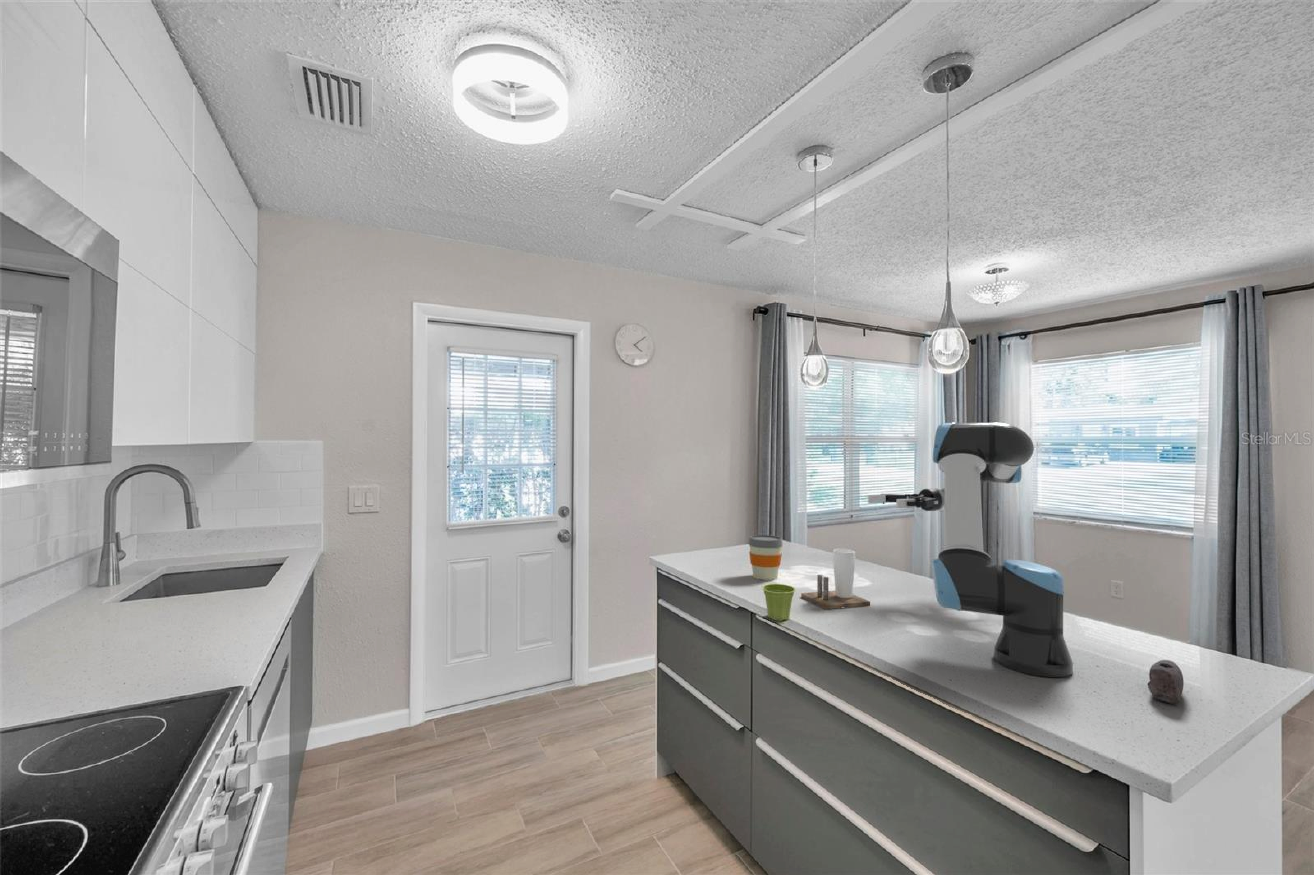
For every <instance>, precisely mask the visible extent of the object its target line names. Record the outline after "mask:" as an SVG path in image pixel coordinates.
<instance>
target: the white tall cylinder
mask: <svg viewBox="0 0 1314 875" xmlns="http://www.w3.org/2000/svg"><path fill="white" fill-rule="evenodd" d="M832 560H833V561H832V563H833V564H832V565H833V574H834V575H833V576H834V590H835V595H836V596H837V597H839V598H844V599H849V598H852V596H853V594H854V593H853V592H854V591H853V590H854V582H855V581H854V580H855V570H856V551H855V550H853V549H849V548H834V549H833V553H832Z"/></svg>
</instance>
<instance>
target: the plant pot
mask: <svg viewBox="0 0 1314 875" xmlns="http://www.w3.org/2000/svg"><path fill="white" fill-rule="evenodd" d="M761 589H762V590H763V594H764V596H765V597H764V598H765V603H766V611H767V612H766V613H767V617H768V618H770V619H771V620H773V621H780V622H781V621H784V620H786V621H788V620H789V619H790V616H791V608H792V602H793V597H794V594H795V592H796V587H794V586H793V585H788V584H780V583H768V584H764V585H763V586H762V588H761Z"/></svg>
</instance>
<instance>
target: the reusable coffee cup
mask: <svg viewBox="0 0 1314 875" xmlns="http://www.w3.org/2000/svg"><path fill="white" fill-rule="evenodd" d="M748 545H749V560H750V564H751V569H752V578H753V579H755V578H756V579H755V580H759V579H764V580H763V581H773V580H772V579H776V580H777V579H778V577H779V568H780V566H781V564H782V563H781V561H782V547H783V538H782V537H781V536H777V535H771V534H755V535H750V536H749V539H748Z"/></svg>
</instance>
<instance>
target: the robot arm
mask: <svg viewBox="0 0 1314 875" xmlns="http://www.w3.org/2000/svg"><path fill="white" fill-rule="evenodd" d="M933 441H934V443H933V451H932V462H933V463H935V464H937V465H938V469H939V470H940V471H941V472H942V473H944V475H943V477H944V479H943V480H944V481H943V482H944V487H941V488H924V489H922V490H920V491H919V493H913V494H911V493H907V494H905V493H904V494H902V493H901V494H898V493H897V494H892V493H888V494H887V493H881V494H868V495H867V498H868V499H867V503H868V504H882V505H885V503H896V506H895V507H896V508H897V509H906V508H907V509H909V508H910V509H911V508H918V509H920V508H921V509H922V510H923V511H924V512H935V511H939V512H940V513H943V512H944V548H943V549H941V550H940V551H939V552H938V558H936V559H933V560H932V562H931V566H932V568H931V569H932V574H933V584H934V592H935V597H936V601H937V603H938V605H940V607H942V608H945V609H951V610H954V611H955V610H956V611H958V612H961V611H964V612H971V613H972V612H973V613H981V614H986V615H994V616H995V615H996V616H1002V628H1001V629H1000V632H999V635H998V637H997V640H996V642H995V645H994V650H993V657H994V659H995V661H996V662H998V663H999V664H1000V665H1003V666H1005V667H1006V668H1008V669H1011V670H1014V671H1016V672H1017V671H1018V672H1020V673H1024V674H1028V675H1032V676H1038V677H1045V678H1065V677H1069V676H1071V675H1072V674H1073V673H1074V667H1073V664H1074V662H1073V660H1072V657H1071V654H1070V651H1069V649H1068V646H1067V643H1066V640H1065V637H1064V595H1065V594H1066V593H1065V589H1064V579H1063V576H1062V574H1061V573H1060V572H1058V570H1055V569H1053V568H1051V567H1049V566H1046V565H1042V564H1038V563H1036V562H1035V563H1034V562H1030V561H1027V560H1021V559H1009V558H1008V559H1007V558H1006V559H1004V560H1003V562H1002V564H1001V565H998V564H997V565H996V564H992V558H991V556H990V554H988V553H987V552H986V551H984V534H983V529H984V528H983V514H982V513H983V511H982V493H981V492H982V491H981V490H982V489H981V483H985V482H986V483H1000V484H1001V483H1002V484H1003V483H1004V484H1018V483H1020V482H1021V479H1022V466H1023V465H1024V464H1026V463H1028V461H1029V460H1030V459H1031V458H1032V456H1033V454H1034V450H1035V449H1034V448H1035V446H1034V443H1033V440H1032V438H1031V437H1030V436H1029V435H1028V434H1027V433H1026V432H1025V431H1024V430H1022V429H1021V428H1018V427H1017V426H1015V425H1013V424H1009V423H1003V422H955V421H953V422H945V423H941V424H939V425H938V426H937V428H936V431H935V436H934V440H933Z"/></svg>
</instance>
